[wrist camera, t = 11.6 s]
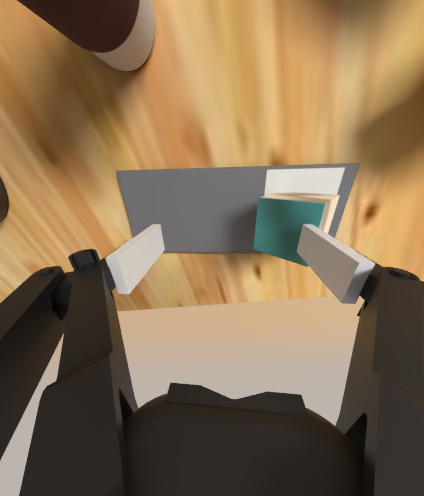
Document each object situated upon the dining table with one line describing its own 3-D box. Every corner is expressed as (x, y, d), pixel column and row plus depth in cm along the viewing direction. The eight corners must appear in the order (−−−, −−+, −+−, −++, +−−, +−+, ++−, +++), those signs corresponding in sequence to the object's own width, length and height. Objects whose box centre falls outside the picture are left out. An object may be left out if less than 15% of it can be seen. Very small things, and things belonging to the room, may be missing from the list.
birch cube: (307, 266, 15) (323, 246, 19) (325, 203, 13) (339, 195, 16) (253, 248, 19) (275, 235, 23) (258, 197, 17) (282, 191, 20)
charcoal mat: (139, 249, 27) (137, 251, 26) (119, 170, 21) (115, 171, 21) (326, 251, 24) (329, 254, 24) (354, 163, 19) (360, 163, 18)
